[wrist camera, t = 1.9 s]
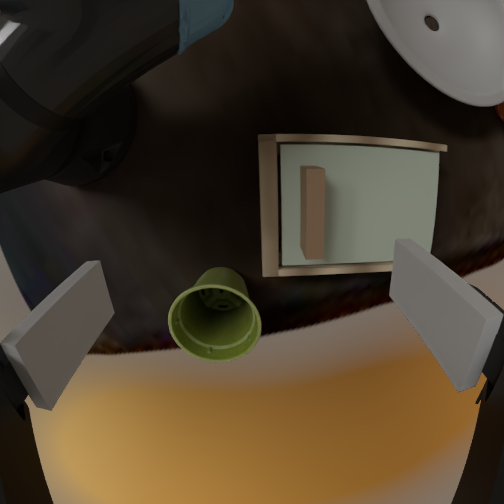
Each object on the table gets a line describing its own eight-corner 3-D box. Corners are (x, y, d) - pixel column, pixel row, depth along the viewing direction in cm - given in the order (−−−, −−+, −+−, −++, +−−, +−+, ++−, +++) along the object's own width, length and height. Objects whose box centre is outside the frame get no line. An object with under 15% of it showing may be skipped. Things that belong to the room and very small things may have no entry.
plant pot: (179, 255, 37) (159, 287, 29) (257, 250, 37) (258, 282, 28) (191, 321, 40) (177, 362, 32) (262, 318, 40) (263, 360, 32)
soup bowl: (513, 95, 28) (542, 94, 22) (394, 127, 31) (421, 126, 25) (448, -43, 20) (469, -58, 14) (311, -39, 24) (321, -66, 17)
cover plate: (281, 261, 33) (285, 280, 28) (279, 144, 29) (284, 145, 24) (424, 255, 32) (444, 271, 28) (433, 152, 28) (458, 156, 24)
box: (261, 256, 37) (262, 276, 32) (257, 135, 32) (258, 134, 27) (414, 251, 36) (435, 268, 31) (422, 142, 32) (447, 145, 26)
